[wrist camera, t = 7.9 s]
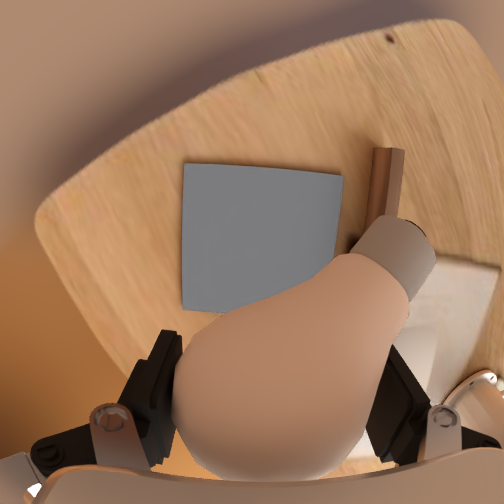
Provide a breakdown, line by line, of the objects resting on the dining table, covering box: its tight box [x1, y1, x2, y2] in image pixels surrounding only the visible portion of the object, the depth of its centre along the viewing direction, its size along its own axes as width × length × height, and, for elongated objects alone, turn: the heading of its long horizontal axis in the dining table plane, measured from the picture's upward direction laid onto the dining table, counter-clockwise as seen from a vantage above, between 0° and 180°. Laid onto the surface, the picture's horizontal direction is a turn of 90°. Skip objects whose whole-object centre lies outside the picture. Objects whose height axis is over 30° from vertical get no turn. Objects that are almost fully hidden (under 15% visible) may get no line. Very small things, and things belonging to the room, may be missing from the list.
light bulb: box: [171, 215, 436, 482], centre depth 9 cm, size 7×7×11 cm
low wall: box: [363, 148, 405, 235], centre depth 26 cm, size 1×18×4 cm, turn 176°
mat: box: [182, 163, 344, 313], centre depth 27 cm, size 14×14×1 cm
